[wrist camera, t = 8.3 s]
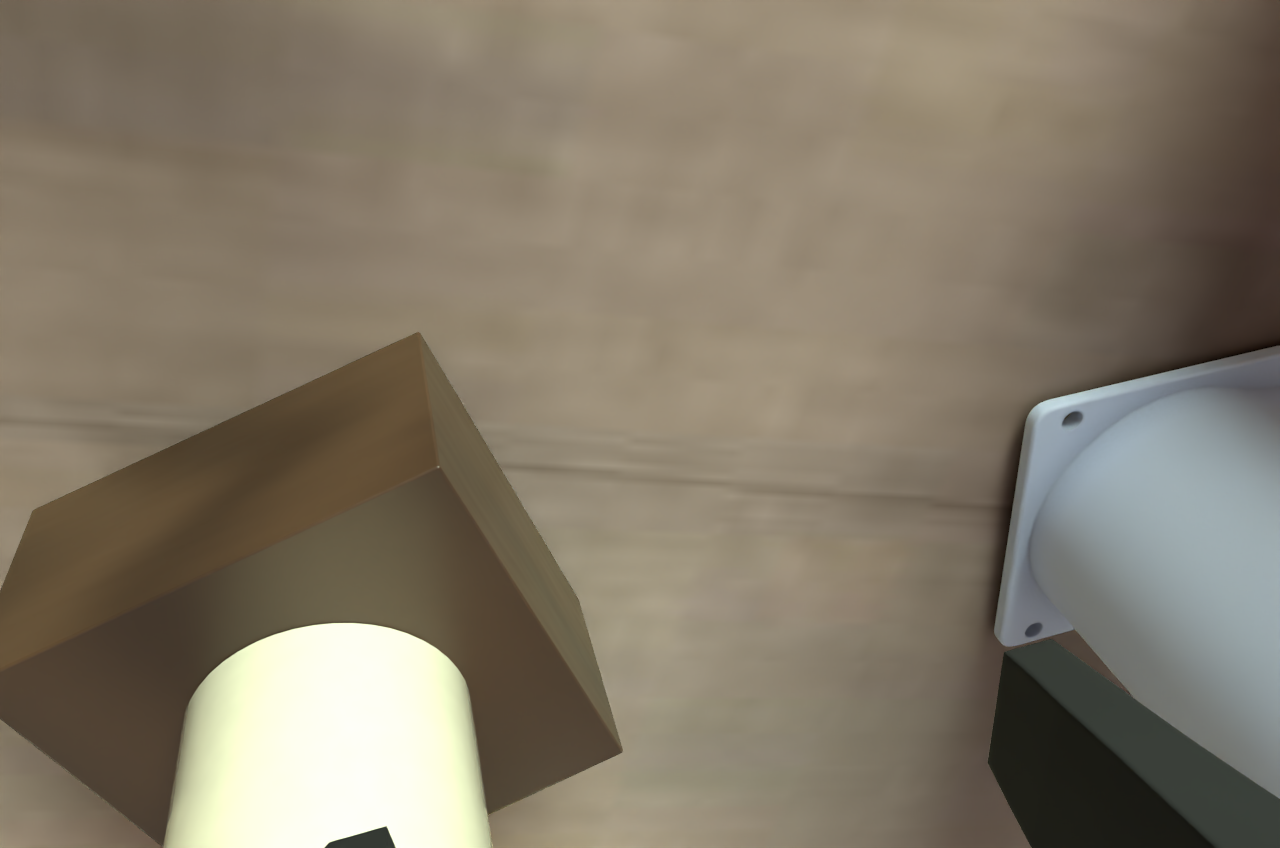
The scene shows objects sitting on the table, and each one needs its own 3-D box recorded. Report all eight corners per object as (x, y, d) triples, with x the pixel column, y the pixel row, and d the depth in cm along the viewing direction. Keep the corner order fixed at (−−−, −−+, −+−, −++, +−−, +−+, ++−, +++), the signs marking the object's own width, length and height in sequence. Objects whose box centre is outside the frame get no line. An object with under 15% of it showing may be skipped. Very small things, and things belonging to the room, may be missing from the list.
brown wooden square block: (418, 330, 19) (439, 465, 15) (579, 600, 23) (623, 753, 20) (32, 509, 19) (-42, 688, 15) (269, 743, 23) (257, 922, 20)
